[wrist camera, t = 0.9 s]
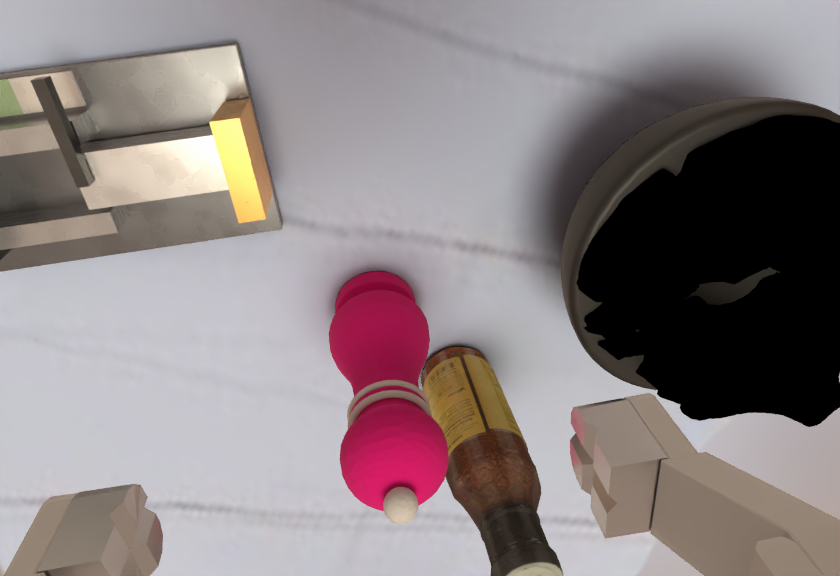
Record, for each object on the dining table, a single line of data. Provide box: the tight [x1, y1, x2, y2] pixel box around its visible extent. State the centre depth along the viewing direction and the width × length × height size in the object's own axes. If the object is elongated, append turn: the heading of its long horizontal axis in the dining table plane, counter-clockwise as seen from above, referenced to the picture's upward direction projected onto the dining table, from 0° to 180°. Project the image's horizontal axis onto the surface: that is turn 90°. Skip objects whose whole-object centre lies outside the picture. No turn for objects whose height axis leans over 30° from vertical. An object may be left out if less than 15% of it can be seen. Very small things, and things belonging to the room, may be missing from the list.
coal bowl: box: [561, 97, 840, 427], centre depth 36 cm, size 20×20×19 cm
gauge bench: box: [0, 43, 283, 271], centre depth 34 cm, size 12×20×7 cm, turn 96°
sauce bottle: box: [422, 347, 563, 576], centre depth 42 cm, size 7×6×20 cm
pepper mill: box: [329, 271, 449, 524], centre depth 37 cm, size 7×7×20 cm
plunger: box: [30, 76, 273, 223], centre depth 34 cm, size 9×11×5 cm
